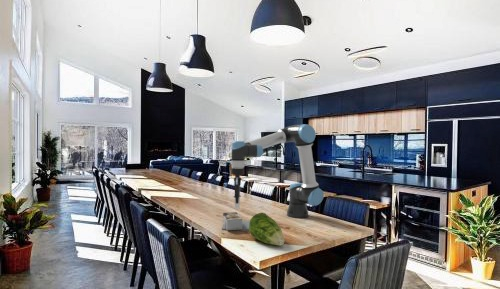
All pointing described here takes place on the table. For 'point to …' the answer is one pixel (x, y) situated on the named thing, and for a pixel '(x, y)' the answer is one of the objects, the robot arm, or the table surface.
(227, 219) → the coffee box
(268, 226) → the lettuce
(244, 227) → the mat
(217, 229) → the table surface
